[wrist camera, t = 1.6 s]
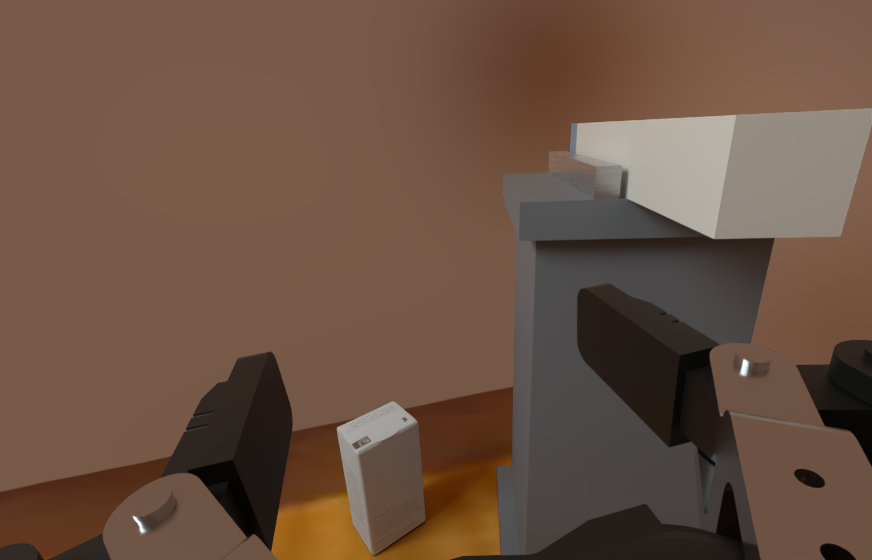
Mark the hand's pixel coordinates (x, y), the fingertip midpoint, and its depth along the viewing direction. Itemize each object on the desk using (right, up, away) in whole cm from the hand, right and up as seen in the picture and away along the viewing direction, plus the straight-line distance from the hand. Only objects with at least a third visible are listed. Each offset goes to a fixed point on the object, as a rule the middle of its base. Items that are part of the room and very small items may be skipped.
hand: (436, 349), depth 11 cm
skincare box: (-5, -22, +30) cm, 37 cm away
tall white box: (+11, +7, +12) cm, 18 cm away
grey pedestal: (+13, -22, +27) cm, 37 cm away
